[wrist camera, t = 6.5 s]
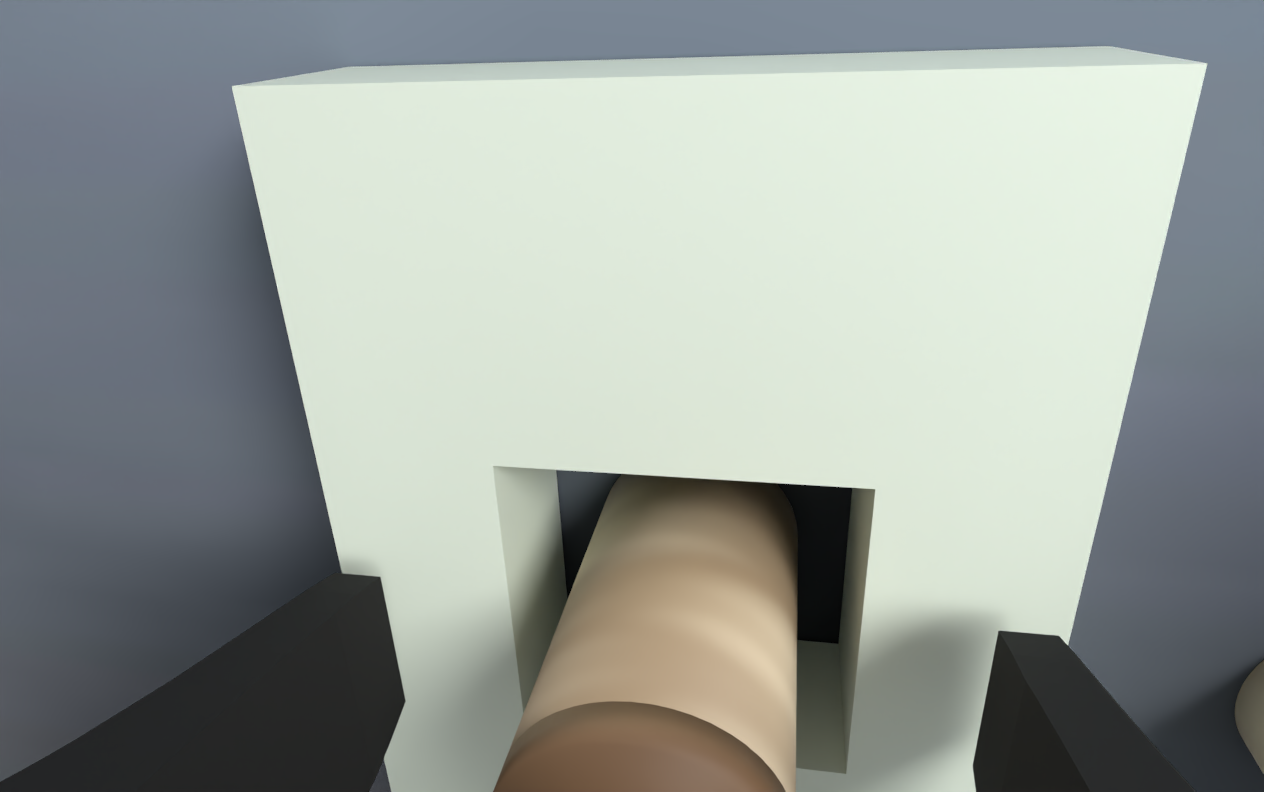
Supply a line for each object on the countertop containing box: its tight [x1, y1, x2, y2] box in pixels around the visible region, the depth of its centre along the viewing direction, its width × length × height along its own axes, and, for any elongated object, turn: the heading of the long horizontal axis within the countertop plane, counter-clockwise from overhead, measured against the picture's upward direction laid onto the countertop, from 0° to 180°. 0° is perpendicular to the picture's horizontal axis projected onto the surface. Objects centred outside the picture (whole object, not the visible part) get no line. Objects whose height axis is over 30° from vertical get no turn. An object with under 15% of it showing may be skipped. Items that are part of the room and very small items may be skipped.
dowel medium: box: [493, 474, 798, 792], centre depth 10 cm, size 3×3×6 cm
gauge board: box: [232, 46, 1207, 792], centre depth 12 cm, size 9×13×2 cm
